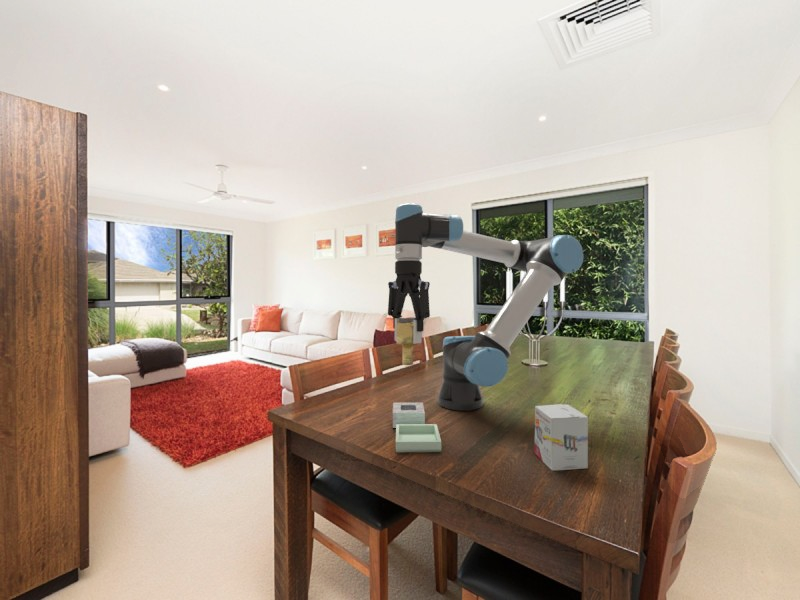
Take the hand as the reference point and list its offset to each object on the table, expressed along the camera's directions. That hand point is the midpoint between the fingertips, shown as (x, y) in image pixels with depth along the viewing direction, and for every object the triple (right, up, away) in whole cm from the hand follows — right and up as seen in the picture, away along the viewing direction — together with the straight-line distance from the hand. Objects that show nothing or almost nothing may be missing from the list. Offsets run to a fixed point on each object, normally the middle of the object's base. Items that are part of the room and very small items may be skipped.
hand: (407, 341), depth 102 cm
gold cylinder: (0, -6, 0) cm, 6 cm away
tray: (+2, -25, -10) cm, 27 cm away
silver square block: (0, -24, +3) cm, 24 cm away
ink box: (+34, -25, -20) cm, 47 cm away
